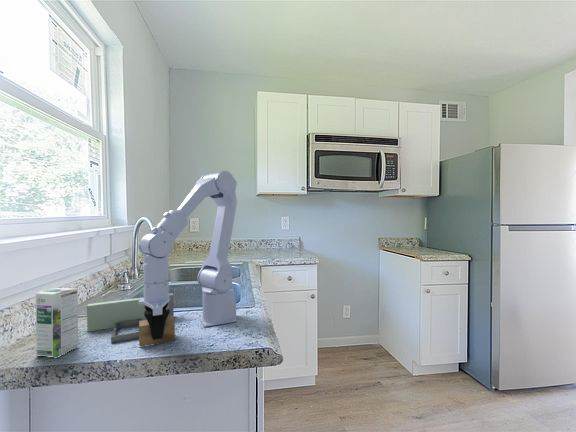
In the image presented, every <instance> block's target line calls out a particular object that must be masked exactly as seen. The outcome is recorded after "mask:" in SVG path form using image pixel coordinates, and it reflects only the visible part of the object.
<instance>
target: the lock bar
mask: <svg viewBox="0 0 576 432" xmlns="http://www.w3.org/2000/svg"><path fill="white" fill-rule="evenodd" d="M175 321H176V320H175V316H170V317H167V319H166V322H165V326H164V332H163V337H162V338H161V339H156V340H153V338H152V335H151V330H150V326H149V323H148V321H147V320H143V321H139V325H138V332H139V338H138V341H139V342H138V343H139V344H138V347H139V346H144V347H146V346H145V345H149V346H152V345H151V344H155V345H159V344H158V343H160V344H164V343H163V342H165V343H169V341H171V342H175V341H176V327H175V326H176V322H175Z"/></svg>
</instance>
